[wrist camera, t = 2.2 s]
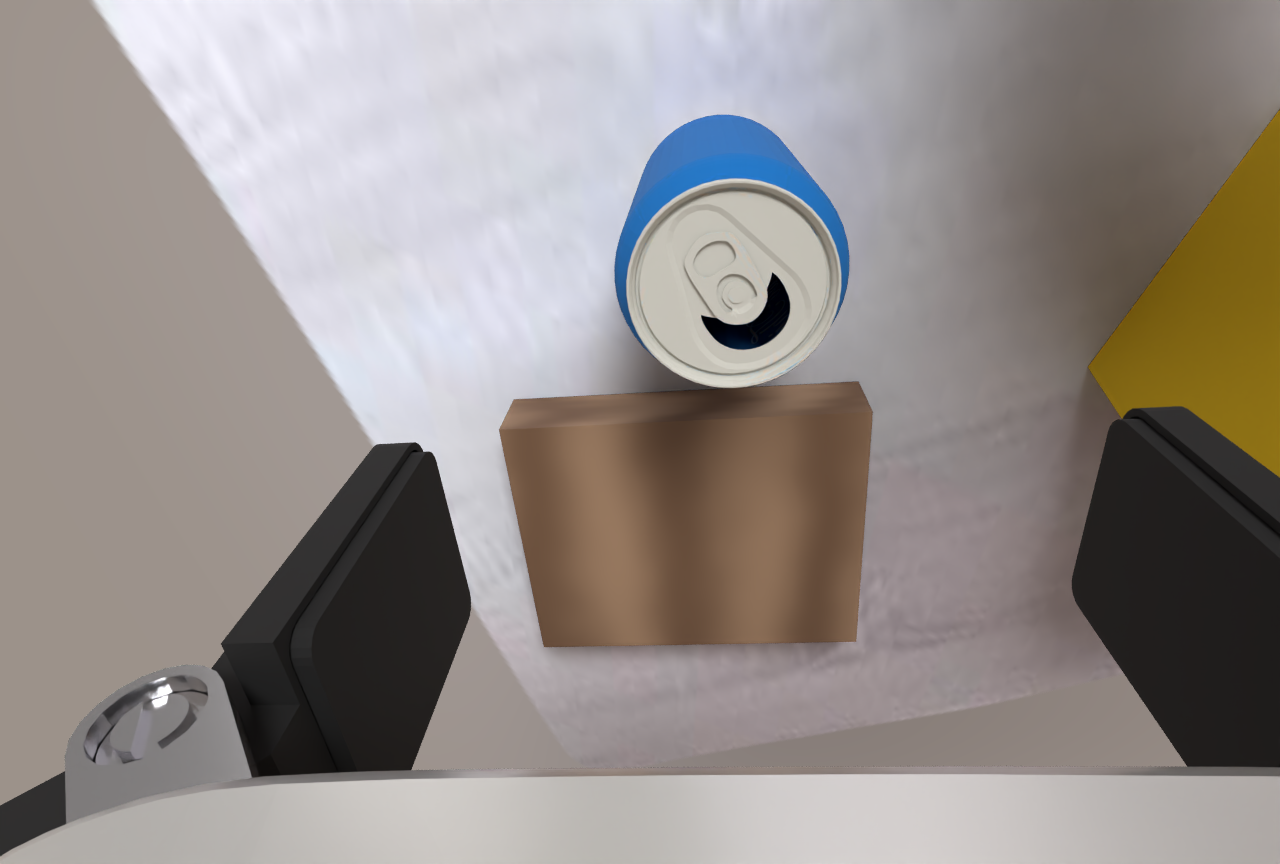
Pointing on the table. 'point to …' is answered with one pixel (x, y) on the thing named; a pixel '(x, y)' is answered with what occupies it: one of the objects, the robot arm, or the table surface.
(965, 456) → the table surface
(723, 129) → the beverage can
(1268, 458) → the alarm clock
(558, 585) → the walnut board
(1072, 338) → the table surface
